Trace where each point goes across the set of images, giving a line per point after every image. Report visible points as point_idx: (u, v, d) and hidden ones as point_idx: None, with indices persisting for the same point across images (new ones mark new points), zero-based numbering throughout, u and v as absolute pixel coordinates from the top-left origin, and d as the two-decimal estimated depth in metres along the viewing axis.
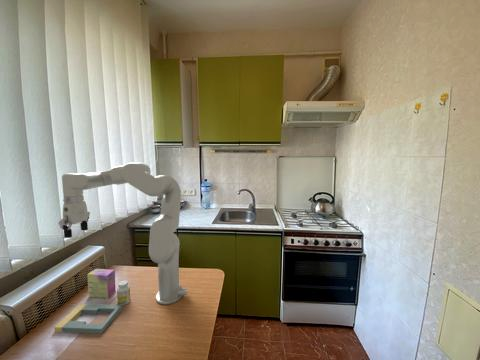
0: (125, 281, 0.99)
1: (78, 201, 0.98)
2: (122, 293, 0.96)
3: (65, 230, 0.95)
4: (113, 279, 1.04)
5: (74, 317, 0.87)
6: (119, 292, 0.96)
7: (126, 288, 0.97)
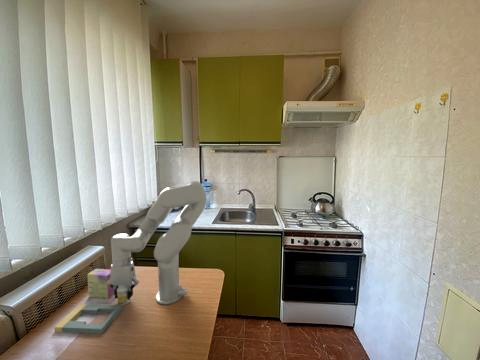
0: None
1: None
2: (122, 292, 0.96)
3: (131, 290, 0.98)
4: None
5: (74, 317, 0.87)
6: (119, 292, 0.96)
7: (126, 288, 0.97)
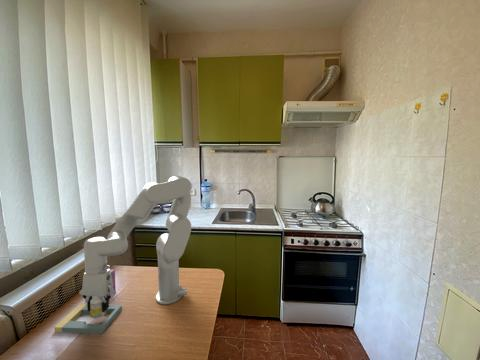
0: None
1: None
2: (96, 304, 0.84)
3: (107, 301, 0.86)
4: (113, 279, 1.04)
5: (74, 317, 0.87)
6: (92, 304, 0.84)
7: (101, 299, 0.85)
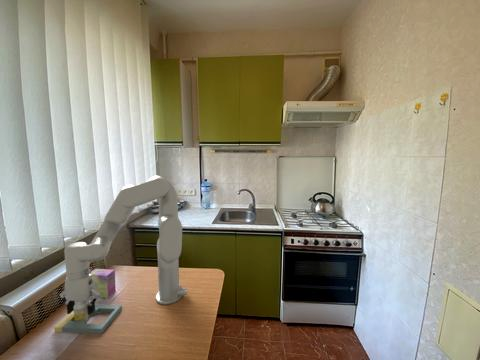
0: None
1: None
2: (79, 310, 0.85)
3: (93, 304, 0.87)
4: (113, 279, 1.04)
5: None
6: (75, 309, 0.85)
7: (84, 304, 0.86)
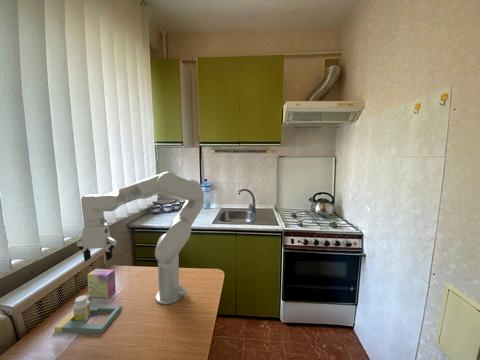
0: (84, 296, 0.88)
1: None
2: (79, 310, 0.85)
3: (110, 251, 0.93)
4: (113, 279, 1.04)
5: None
6: (75, 309, 0.85)
7: (84, 304, 0.86)
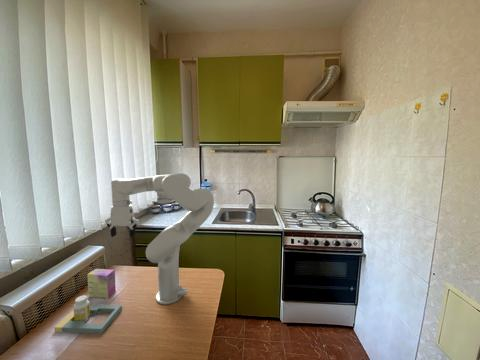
0: (84, 296, 0.88)
1: None
2: (79, 310, 0.85)
3: (134, 229, 1.05)
4: (113, 279, 1.04)
5: None
6: (75, 309, 0.85)
7: (84, 304, 0.86)
